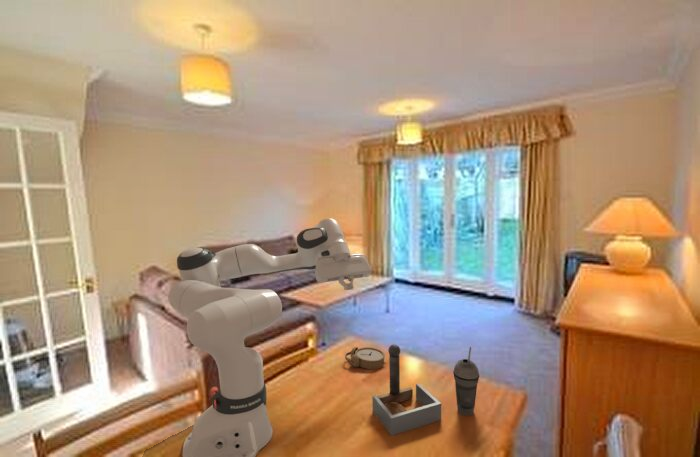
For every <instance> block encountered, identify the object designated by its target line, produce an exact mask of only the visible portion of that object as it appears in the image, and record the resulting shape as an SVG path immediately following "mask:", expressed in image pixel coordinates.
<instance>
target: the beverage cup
mask: <svg viewBox="0 0 700 457" xmlns="http://www.w3.org/2000/svg"><path fill="white" fill-rule="evenodd" d="M471 352H472V347H471V346H469V348H468V357H467V358H465V359H464V358H463V359H460V360H458V362H456V363H455V365H454V367H453V371H452V372H453V379H454V383H455V384H454V385H455V386H454V387H455V397H456V406H457V412H458V413H459V414H461V415H462V416H466V417H467V416H468V417H469V416H472V415H473V414H475V411H474V410H475V406H476V399H477V398H476V397H477V390H478V383H479V380H480V372H479V368H478V366H477V365H476V363H475V362H473V361H472V360H471Z"/></svg>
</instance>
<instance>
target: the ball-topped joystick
mask: <svg viewBox="0 0 700 457" xmlns="http://www.w3.org/2000/svg"><path fill="white" fill-rule="evenodd" d="M387 351H388V352H387V353H388V354H389V355H388V356H389V359H388V360H389V392H388V393H385V394H380V395H376V396H377V397H378V398H379V399H380V401H381V402H382V403H383V404H386V403H389V402H398V403H400V402H405V401H408V400H411V399H414V397H413V396H414V395H413V388H412V387H407V388H406V387H405V388H402V389H401V388H400V384H401V382H400V378H401V377H400V375H401V374H400V372H401V371H400V368H401V367H400V354H401V348H400V346H399V345H397V344H391V345H390V346H389V347H388V350H387Z"/></svg>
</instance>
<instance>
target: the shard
mask: <svg viewBox="0 0 700 457" xmlns="http://www.w3.org/2000/svg"><path fill="white" fill-rule="evenodd" d="M384 405H385V407H386V408H387V409H388V410H389V411H390V412H391V414H392V415H395V414H398V413H402V412H405V411H408V410H407V409H406V408H405V407H404V406H403V405H402V404H400V402H389V403H386V404H384Z"/></svg>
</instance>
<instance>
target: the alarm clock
mask: <svg viewBox="0 0 700 457" xmlns="http://www.w3.org/2000/svg"><path fill="white" fill-rule="evenodd" d="M349 355H350V358H348V356H349ZM344 358H345V360H346V361H347V362H349V363H350V364H351V365H352V367H353V368H359V367H360V368H362V369H363V368H364V369H368V370H376V369H380V368H381V367H383V366H384V364H386V361H385V353H384V352H383V351H382V350H381V349H379V348H375V347H371V346H370V347H369V346H368V347H366V346H365V347H360V348H359V347H356V346H355V347H352V349H351V351H348V352H346V353H345V355H344Z"/></svg>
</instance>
